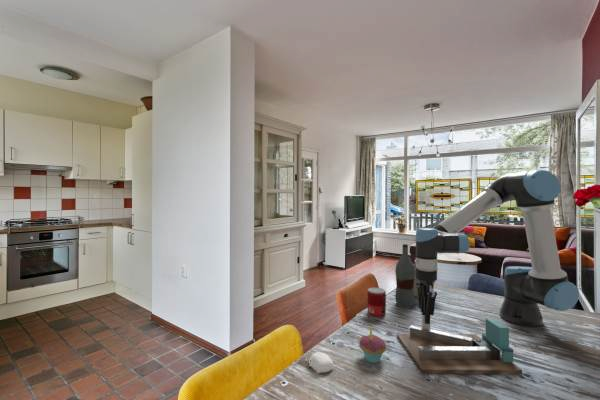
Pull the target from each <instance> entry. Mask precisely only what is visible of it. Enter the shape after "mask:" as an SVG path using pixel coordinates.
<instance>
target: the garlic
mask: <svg viewBox="0 0 600 400" xmlns="http://www.w3.org/2000/svg"><path fill="white" fill-rule="evenodd" d="M308 367H311V368H312V369H313V371H315V373H317V374H323V373H324V374H325V373H328V372H330V371H332V370H333V369H334V362H333V360H332V359H331V358H330V356H329V355H327V354H326V353H324V352H320V351H316V352H313V353H312V354H311V355H310V363H309V365H308Z"/></svg>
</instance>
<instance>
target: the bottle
mask: <svg viewBox="0 0 600 400" xmlns="http://www.w3.org/2000/svg"><path fill="white" fill-rule="evenodd" d="M414 264H415V263H413V262H412V260H411V258H410V256H409V244H405V243H403V244H402V254H401V256H400V258H399V260H398V261H397V262H396V266H395V271H394V272H395V282H396V288H395V296H394V297H395V303H396V306H398V307H401V308H405V309H410V308H411V309H412V308H414V306H415V302H416V301H415V300H416V296H415V294H414V277H415V268H414Z"/></svg>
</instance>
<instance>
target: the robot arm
mask: <svg viewBox="0 0 600 400" xmlns="http://www.w3.org/2000/svg"><path fill="white" fill-rule="evenodd" d="M561 189H562V185H561V182H560V179H559V178H558V177H557V176H556V175H555V174H554V173H552V172H551V171H549V170H544V169H531V170H524V171H518V172H509V173H506V174H504V175H502V176H500V177H498V178H496V179H494V180H493V181H492V182H490V183H489V184H487V185H486V186H485V187H483V188H482V189H481V192H480V193H479V194H478V195H477V196H475V197H473V198H472V199H471V200H469V201H468V202H467V203H465V204H464V205H463V206H461V207H460V208H458V209H457V210H455V212H453V213H451V214H450V215H449V216H448V217H446V218H445V219H443V220H442V221H440V222H439V223H438V224H436V225H435V226H434V227H432V228H431V227H418V228H417V229H416V231H415V240H414V241H415V260H414V264H416V267H417V268H416V279H418V280H419V283H416V285H417V291H418V297H417V301H418V309H419V310H420V312H421V327H422V328H427V329H431V316H434V314H435V306H436V300H437V299H436V298H437V296H438V292H437V291H434V286H433V282H434V281H435V282H436V281H437V280H438V269H437V268H438V254H464V253H467V252H468V251H469V250H470V247H471V245H470V244H471V242H470V238H469V236H467V234H465V233H460V232H461V231H462V230H464V229H465V228H467V227H468V226H469V225H470V224H472V223H473V222H475V221H476V220H478V219H479V218H480V217H482V216H483V215H484V214H486V213H487V212H488V211H490V210H491V209H493V208H494V207H500V206H501V205H503V204H504V203H508V202H511V201H515V204H516V208H517V209H519V210H520V211H522V217H523V222H524V229H525V234H526V241H527V244H528V245H527V246H528V251H529V256H530V257H529V258H530V263H531V266H520V265H519V266H516V265H515V266H514V265H513V266H506V267H505V269H504V274H503V277H504V278H503V280H504V281H503V282H504V285H503V286H504V287H503V288H504V289H503V290H504V297H503V301H502V304H501V307H500V308H499V317H500V318H502V319H503V320H505V321H507V322H510V323H512V324H516V325H520V326H523V327H541V326H543V324H544V317H543V316H542V312H541V310H540V308H539V307H540V306H539V305H541V306H544V307H546V308H548V309H550V310H554V311H558V312H565V311H568V310H571V309H573V308H574V306H575V305H576V304H577V302H578V301H579V298H580V292H579V289H578V286H576V285H575V284H574V283H573V282H570V281H569V278H568V274H567V272H566V271H565V270H564V269H562V268H561V263H560V256H559V249H558V244H557V240H556V233H555V228H554V221H553V217H552V210H551V208H552V207H553V206H554V205H555V204H556V203H555V199H557V198H558V197H559V195H560V193H561ZM436 269H437V271H436Z"/></svg>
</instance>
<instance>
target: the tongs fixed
mask: <svg viewBox="0 0 600 400" xmlns="http://www.w3.org/2000/svg"><path fill="white" fill-rule="evenodd" d="M500 353H501V350H500V349H499V348H498V347H496V346H495V345H494V344H491V343H489V342H488V341H487V340H485V339H482V338H481V339H472V347H466V346H419V357H420V358H421V359H422V360H500Z"/></svg>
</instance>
